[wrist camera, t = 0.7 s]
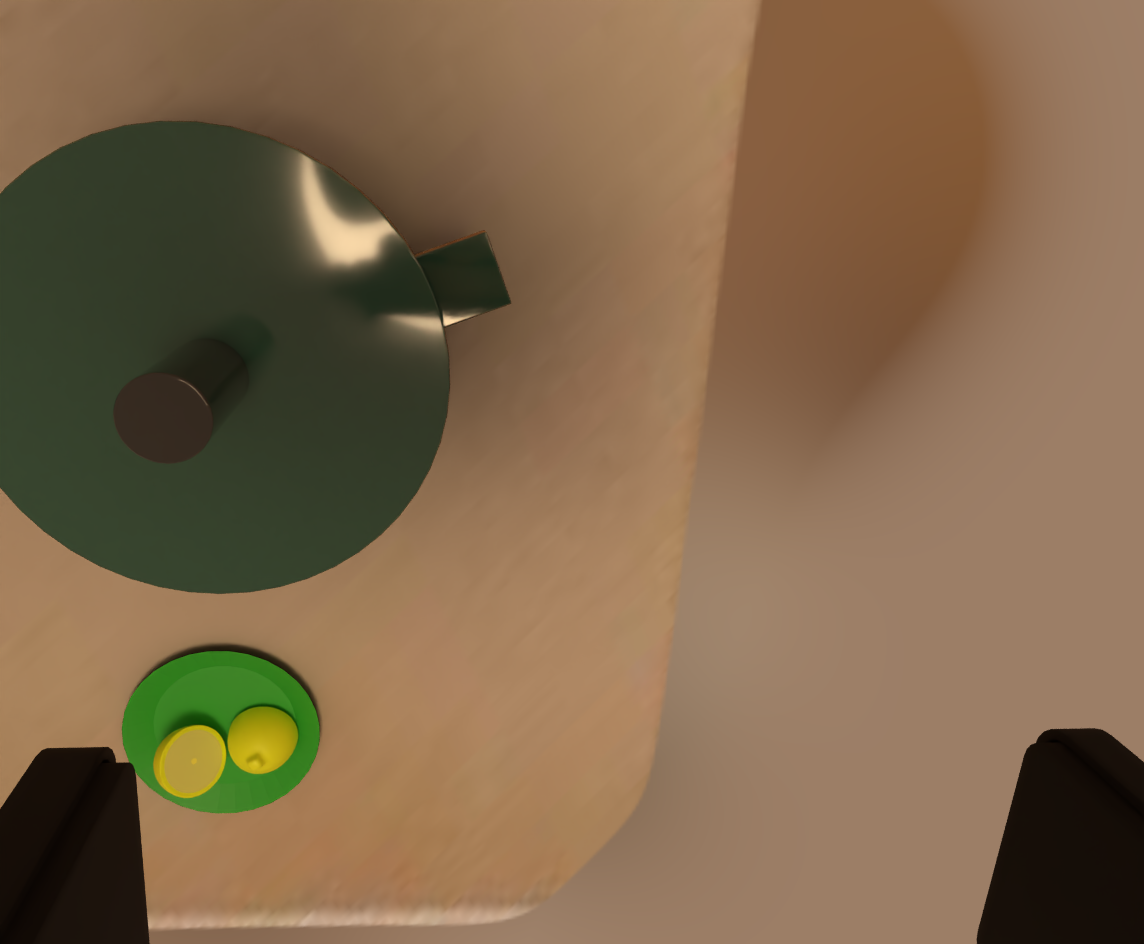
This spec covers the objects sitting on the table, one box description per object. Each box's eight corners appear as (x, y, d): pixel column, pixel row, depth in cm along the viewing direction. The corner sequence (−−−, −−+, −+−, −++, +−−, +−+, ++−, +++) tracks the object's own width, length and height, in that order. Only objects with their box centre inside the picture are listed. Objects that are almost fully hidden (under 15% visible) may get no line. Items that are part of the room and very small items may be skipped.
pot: (-93, 246, 32) (-218, 264, 26) (422, 66, 32) (420, 42, 26) (99, 576, 36) (32, 659, 30) (546, 414, 37) (569, 463, 31)
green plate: (191, 831, 41) (174, 878, 38) (87, 693, 38) (61, 733, 35) (354, 756, 41) (348, 797, 38) (262, 613, 38) (249, 646, 35)
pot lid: (-141, 219, 26) (-301, 234, 20) (343, 52, 27) (318, 20, 21) (108, 639, 31) (35, 746, 25) (511, 493, 32) (529, 565, 26)
